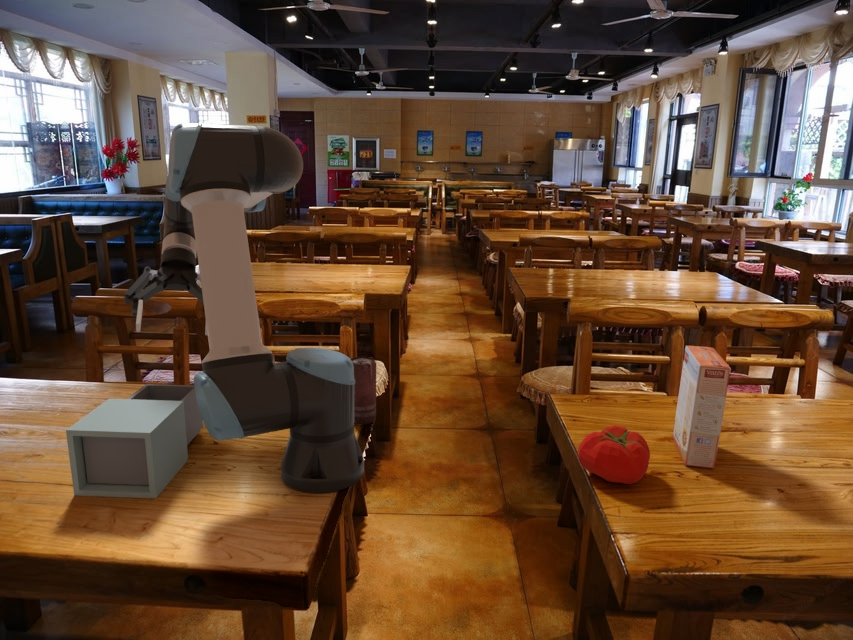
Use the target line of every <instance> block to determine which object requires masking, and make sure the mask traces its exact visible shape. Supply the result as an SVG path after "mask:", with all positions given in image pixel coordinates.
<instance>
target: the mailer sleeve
mask: <svg viewBox="0 0 853 640" xmlns="http://www.w3.org/2000/svg"><path fill="white" fill-rule="evenodd" d="M65 434H66V442H67V448H68V449H67V450H68V458H69V465H70V472H71V473H70V474H71V480H72V488H73V489H72V490H73V495H74V496H78V497H79V496H82V497H84V496H85V497H86V496H87V497H108V498H113V497H114V498H136V499H137V498H141V499H157V498H158V497H159V495H161V493H162V492H163V491H164V489H165V488H166V487H167V486H168V485H169V483H170V482H171V481H172V480H173V478H174V477H175V476H176V475H177V474H178V473H179V472H180V470H181V469H182V468H183V467H184V465H185V464H186V463H187V462H188V461H189V454H188V445H187V439H186V425H185V412H184V401H169V400H138V399H127V398H108V399H107V400H105V401H103V402H102V403H101V404H99V405H98V406H97V407H95V408H94V409H93V410H91V411H90V412H89V413H87V414H85V415H84V416H83V417H82V418H80V419H79V420H78V421H76V422H75V423H73V424H72V425H71V426H69V427H68V428H67V429H65ZM82 436H91V437H121V438H145V447H146V458H147V468H148V479H149V485H134V484H106V483H88V479H87V471H86V463H85V455H84V446H83V438H82Z"/></svg>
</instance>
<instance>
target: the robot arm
mask: <svg viewBox="0 0 853 640" xmlns="http://www.w3.org/2000/svg"><path fill="white" fill-rule="evenodd" d="M167 171H168V172H167V173H168V174H167V176H166V181H165V188H164V197H165V199H164V206H165V209H164V226H163V238H162V239H163V240H162V244H161V255H160V265H159V266H160V267H159V269H157V270H155V269H151V267H150V266H148V265H147V266H145V267H144V269H143V273H142V274H141V275H140V276H139V277H138V278H137V279H136V280H135V281H134V283H133V284H132V285H131V286H130V287H129V288H128V289H127V290H126V291H125V293H123V294H124V296H123V299H124V304H127V305H128V304H130V305H131V316H132V317H133V318H136V321H135V332H137V333H140V332H141V329H142V328H141V326H142V318H143V311H144V307H143V305H144V303H146V302H147V301H148V300H150V299H151V298H153V297H154V296H156V295H158V294H159V293H160V292H161V293H162V292H163V291H166V289H168V290H170V291H174V290H175V291H183V292H184V291H187V292H188V293H189V294H190V295H193V296H194V297H195V298H196V299H197V300H198V301H199V302H201V304H202V305H203V308H204V316H205V317H204V318H205V329H204V330H205V333H204V334H205V336H207V339H208V346H209V351H208V353H207V354H206V355H205V357H204V358H203V360H201V368H202V371H198V373H195V375H193V385H195V393H196V398H197V402H198V406H199V410H200V413H201V416H202V419H203V425H204V426H205V429H206V431H207V433H208V434H209V435H210V437H212V438H213V439H215V440H217V441H227V440H236V439H240V440H242V439H244V438H248V437H253V436H259V435H263V434H270V433H273V432H274V433H275V432H278V431H285V430H289V436H288V440H287V444H286V446H285V449H284V450H285V451H284V453H283V457H282V459H281V463H280V475H281V480H282V482H283V483H284V484H285V485H287V486H288V487H289V488H291V489H294V490H297V491H300V492H304V493H312V494H313V493H315V494H323V493H333V492H338V491H342V490H344V489H347V488H350V487H352V486H353V485H355V484H356V483H359V481H360V480H361V479H362V478H363V476H364V474H365V460H364V458H365V457H364V456H363V453H362V449H361V447H360V445H359V442H358V439H357V436H356V433H355V424H354V394H355V379H354V366H353V363H352V361H351V359H352V358H350V357H349V356H347V355H346V354H344V353H342V352H339V351H337V350H333V349H328V348H322V347H321V348H320V347H298V348H295V349H291V350H290V351H288V353H287V356H286V357H285V358H286V361H282V362H281V361H279V362H275V360H274V355H273V351H272V350H271V349H269V348H268V347H266V346H265V345H264V344H263V340H262V334H261V326H260V318H259V310H258V305H257V297H256V291H255V283H254V275H253V268H252V263H251V254H250V247H249V241H248V239H249V238H248V233H247V232H248V231H247V225H246V217H245V213H256V212H262V211H263V210H264V209H265V207H266V204H267V203H266V202H267V198H268V197H270V196H272V195H273V194H282V193H285V192H287V191H289V190H291V189H292V188H294V187H295V186H296V185H297V184H298V183H299V181H300V180H301V178H302V175H303V171H304V161H303V156H302V154H301V151H300V150H299V148H298V146H297V145H296V143H295V142H294V141H293V140H292V139H290V137H289V136H287V135H286V134H284V133H282V132H281V131H278V130H277V129H274V128H272V127H269V126H264V125H244V124H243V125H242V124H240V125H238V124H221V123H203V122H202V121H200V122H198V123H195V122H194V123H183V122H182V123H179V124H177V125H175V126H174V128H173V130H172V132H171V136H170V143H169V151H168V168H167ZM197 263H198V268H199V273H197V271H196V269H197ZM154 278H157V279H156V281H154V282H153V283H151V284H150V285H148V284H149V282H150V281H153V279H154ZM198 281H199V282H200V285H201V286H200V285H199V284H198V283H197V282H198ZM147 285H148V286H147ZM146 286H147V287H146Z"/></svg>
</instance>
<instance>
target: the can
mask: <svg viewBox="0 0 853 640" xmlns="http://www.w3.org/2000/svg"><path fill="white" fill-rule="evenodd" d="M350 359H351V361H352V363H353V366H354V379H355V394H354V423H355V424H354V425H358V424H361V425H360V426H362V425H369V424H372V423H374V422H375V420H376V418H377V362H376V361H375V359H374V358H373V357H369V356H355V357H352V358H350Z"/></svg>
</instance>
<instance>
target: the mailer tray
mask: <svg viewBox="0 0 853 640" xmlns="http://www.w3.org/2000/svg"><path fill="white" fill-rule="evenodd" d="M126 399H138V400H169V401H184V412H185V425H186V439H187V446H188V445H190V443H191V442H192V441H193V439H195V437H196V436H197V435H198V434H199V433H200V431H201V430H203V428H204V422H203V419H202V416H201V413H200V410H199V406H198V402H197V398H196V393H195V385H194V384H193V385H192V384H191V385H189V384H162V383H161V384H160V383H157V384H156V383H146V384H144V385H143V386H142V387H140V388H139V389H138V390H136V391H135V392H134V393H132V394H131V395H130V396H129V397H127V398H126ZM82 438H83V446H84V455H85V463H86V471H87V479H88V483H106V484H134V485H149V479H148V468H147V458H146V447H145V438H121V437H91V436H82Z"/></svg>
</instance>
